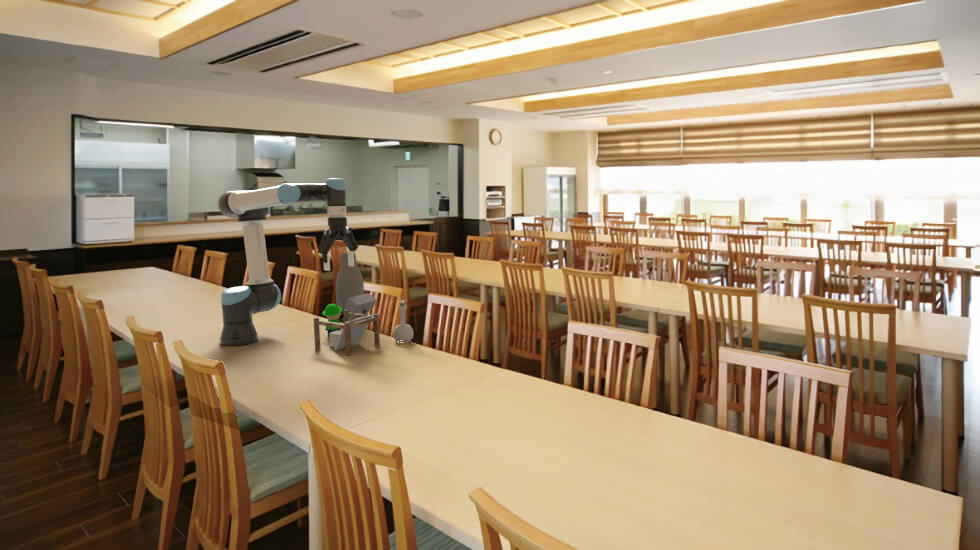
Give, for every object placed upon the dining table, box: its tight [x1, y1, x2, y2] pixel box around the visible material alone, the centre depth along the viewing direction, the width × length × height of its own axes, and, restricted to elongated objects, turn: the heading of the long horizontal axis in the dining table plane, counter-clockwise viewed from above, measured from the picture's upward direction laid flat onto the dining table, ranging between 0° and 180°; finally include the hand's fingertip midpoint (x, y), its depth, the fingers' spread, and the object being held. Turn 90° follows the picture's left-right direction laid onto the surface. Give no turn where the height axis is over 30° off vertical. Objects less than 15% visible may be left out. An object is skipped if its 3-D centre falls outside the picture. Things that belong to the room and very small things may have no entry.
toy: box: [321, 303, 344, 338], centre depth 257 cm, size 9×9×15 cm
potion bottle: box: [392, 299, 414, 344], centre depth 249 cm, size 9×9×18 cm
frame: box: [313, 310, 381, 357], centre depth 240 cm, size 18×18×14 cm
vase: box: [335, 252, 365, 324], centre depth 274 cm, size 13×13×35 cm
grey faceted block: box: [333, 292, 378, 351], centre depth 237 cm, size 22×14×6 cm
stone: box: [328, 330, 345, 350], centre depth 243 cm, size 6×5×6 cm
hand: (339, 268), depth 238 cm, fingers open, 13 cm apart
